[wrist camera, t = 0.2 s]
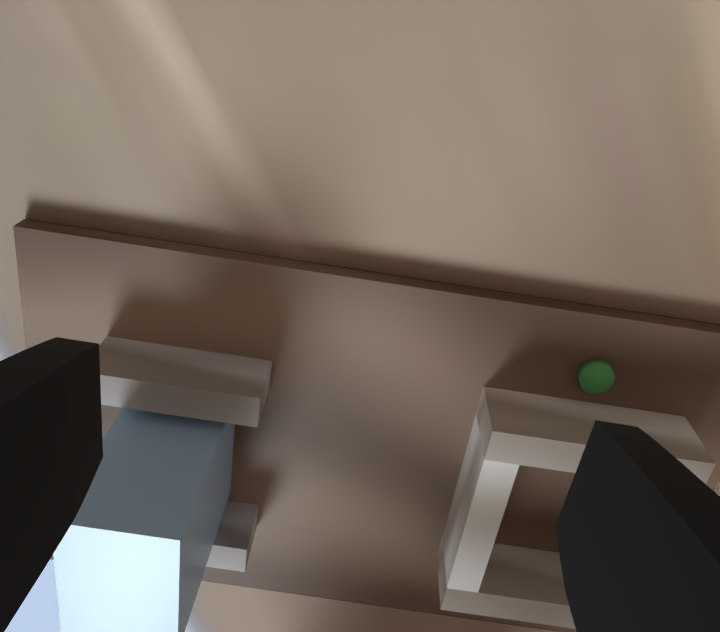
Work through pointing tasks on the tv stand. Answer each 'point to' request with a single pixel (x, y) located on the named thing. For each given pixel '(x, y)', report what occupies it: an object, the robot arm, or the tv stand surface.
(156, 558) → the plug
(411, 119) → the tv stand surface
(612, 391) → the brown tray
